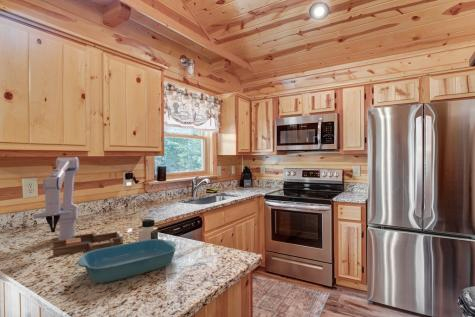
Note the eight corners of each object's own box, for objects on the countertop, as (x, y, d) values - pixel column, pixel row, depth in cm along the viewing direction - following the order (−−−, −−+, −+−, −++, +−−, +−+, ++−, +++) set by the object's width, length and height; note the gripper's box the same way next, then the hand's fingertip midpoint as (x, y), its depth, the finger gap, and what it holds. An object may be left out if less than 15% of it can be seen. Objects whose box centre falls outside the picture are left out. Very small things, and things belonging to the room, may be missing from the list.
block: (66, 247, 126) (66, 239, 126) (80, 245, 129) (80, 237, 129) (66, 251, 121) (65, 243, 121) (80, 249, 124) (80, 241, 124)
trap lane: (53, 244, 130) (53, 238, 130) (116, 234, 146) (116, 228, 146) (52, 259, 111) (52, 251, 111) (125, 245, 128) (125, 238, 128)
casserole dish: (163, 249, 124) (163, 234, 123) (186, 264, 106) (185, 247, 106) (73, 271, 100) (73, 253, 100) (82, 295, 83) (82, 273, 83)
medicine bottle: (151, 245, 128) (150, 221, 128) (138, 244, 130) (138, 220, 130) (158, 241, 135) (158, 218, 135) (145, 240, 137) (145, 217, 137)
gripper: (32, 205, 113) (32, 236, 113) (71, 202, 121) (71, 231, 121) (33, 203, 119) (33, 233, 119) (71, 200, 127) (71, 227, 127)
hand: (53, 231), depth 120 cm, fingers closed
